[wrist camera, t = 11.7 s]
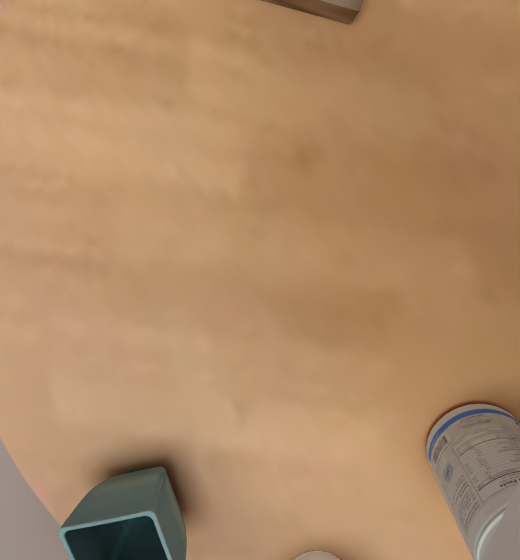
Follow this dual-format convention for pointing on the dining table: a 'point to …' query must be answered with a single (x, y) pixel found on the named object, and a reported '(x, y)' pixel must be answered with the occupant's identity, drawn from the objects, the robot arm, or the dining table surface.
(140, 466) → the dining table surface
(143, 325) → the dining table surface
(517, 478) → the supplement tub
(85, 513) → the flower pot
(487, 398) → the dining table surface
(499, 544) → the robot arm
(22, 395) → the dining table surface
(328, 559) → the foam cup
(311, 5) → the plinth
